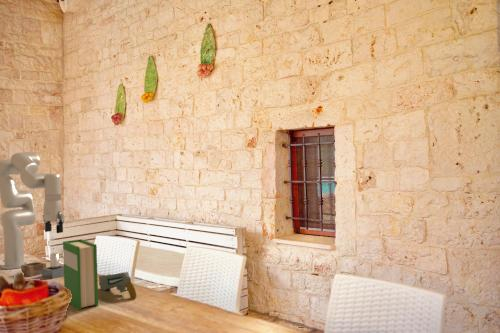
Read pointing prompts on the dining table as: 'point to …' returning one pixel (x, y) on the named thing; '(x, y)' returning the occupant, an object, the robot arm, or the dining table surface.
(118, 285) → the gun
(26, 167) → the robot arm
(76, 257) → the hardback book
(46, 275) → the seat block
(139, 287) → the dining table surface
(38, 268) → the bore block
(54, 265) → the axle
